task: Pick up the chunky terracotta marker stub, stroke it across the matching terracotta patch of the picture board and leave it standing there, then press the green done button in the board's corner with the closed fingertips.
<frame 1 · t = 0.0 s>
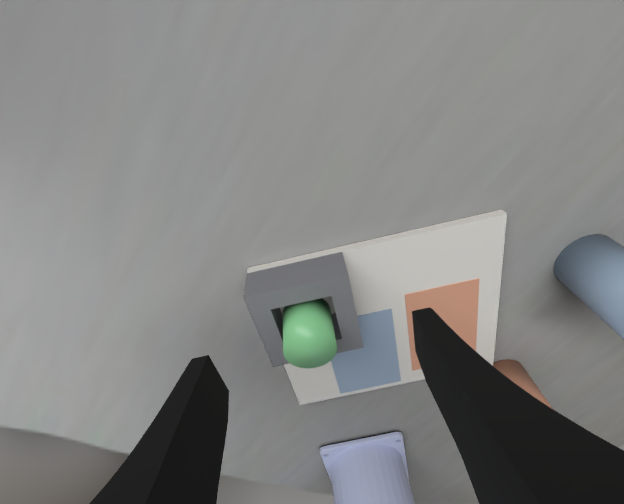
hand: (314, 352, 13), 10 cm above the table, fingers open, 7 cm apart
done button: (308, 330, 21), point 4 cm above the table, slide at 0.0 cm
slate marker: (583, 259, 24), on the table
terracotta marker: (499, 375, 31), on the table
picture board: (384, 319, 26), on the table
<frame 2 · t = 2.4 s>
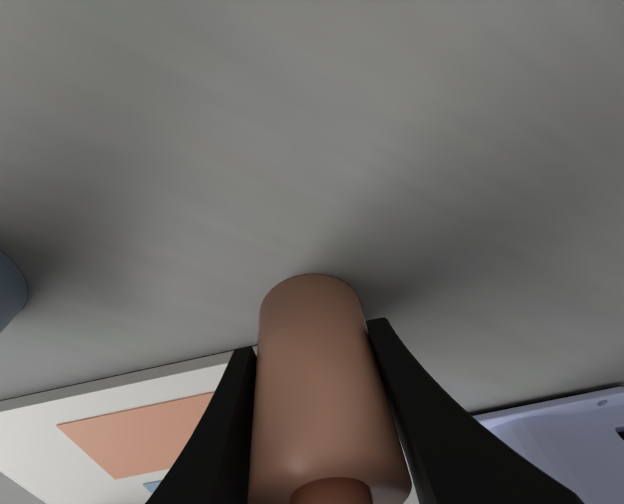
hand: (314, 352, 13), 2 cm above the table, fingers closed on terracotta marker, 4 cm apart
terracotta marker: (310, 314, 14), on the table, touching gripper
picture board: (177, 470, 20), on the table
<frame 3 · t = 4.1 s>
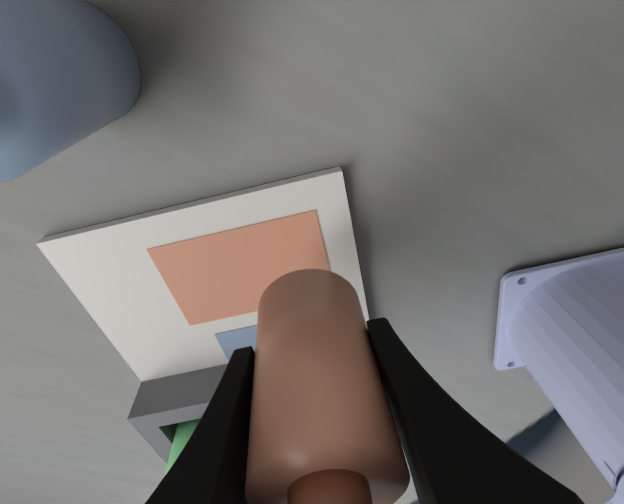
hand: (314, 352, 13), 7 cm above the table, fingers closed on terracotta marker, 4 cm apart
done button: (199, 446, 20), point 3 cm above the table, slide at 0.0 cm
slate marker: (82, 64, 13), on the table
terracotta marker: (309, 310, 14), point 5 cm above the table, touching gripper
picture board: (244, 326, 20), on the table
when the fingers open (3 cm above the table, at t = 5.9 s): terracotta marker stays where it is, resting on picture board.
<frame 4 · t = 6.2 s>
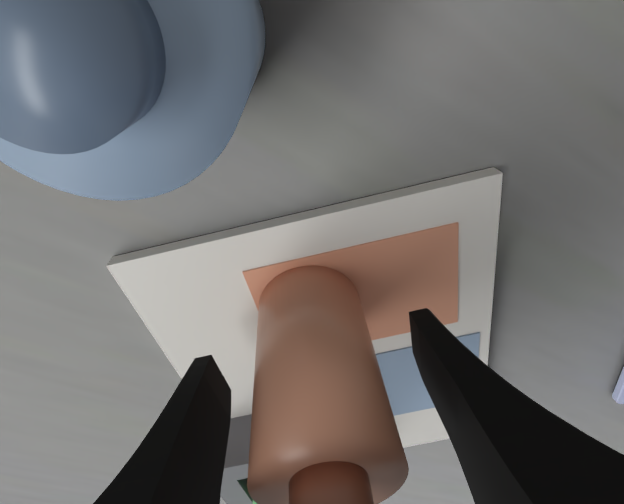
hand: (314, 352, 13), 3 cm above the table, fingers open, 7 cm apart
done button: (284, 501, 17), point 3 cm above the table, slide at 0.0 cm
slate marker: (190, 31, 10), on the table
terracotta marker: (309, 306, 14), point 1 cm above the table, touching picture board
picture board: (337, 358, 17), on the table
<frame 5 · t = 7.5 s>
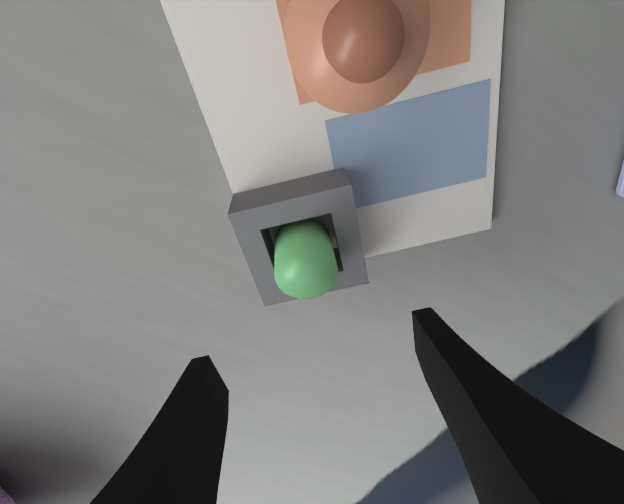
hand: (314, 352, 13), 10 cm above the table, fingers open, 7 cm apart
done button: (304, 256, 18), point 3 cm above the table, slide at 0.0 cm
terracotta marker: (330, 28, 15), point 1 cm above the table, touching picture board
picture board: (354, 120, 18), on the table
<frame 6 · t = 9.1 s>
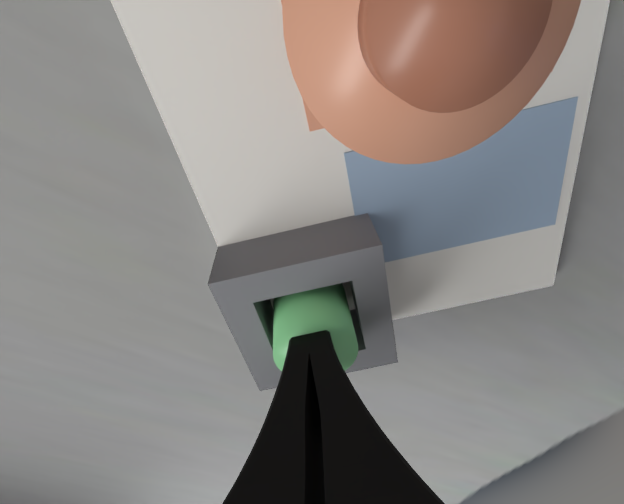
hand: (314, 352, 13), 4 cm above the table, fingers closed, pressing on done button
done button: (312, 322, 14), point 3 cm above the table, slide at 0.7 cm, touching gripper
terracotta marker: (357, 22, 10), point 1 cm above the table, touching picture board
picture board: (383, 151, 13), on the table
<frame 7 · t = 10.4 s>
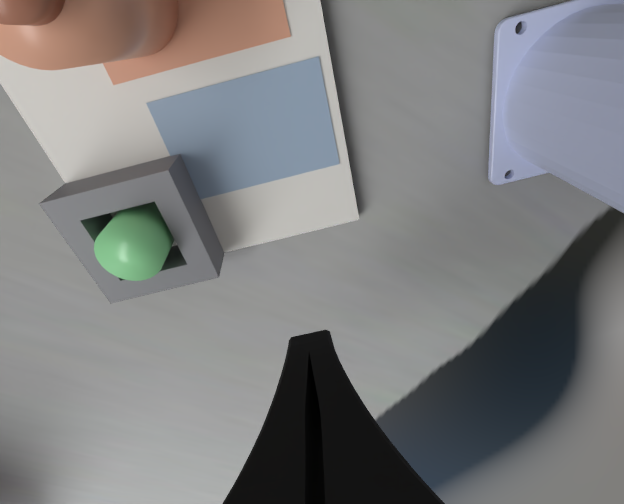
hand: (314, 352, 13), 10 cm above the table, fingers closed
done button: (139, 238, 18), point 2 cm above the table, slide at 1.0 cm
picture board: (185, 103, 17), on the table
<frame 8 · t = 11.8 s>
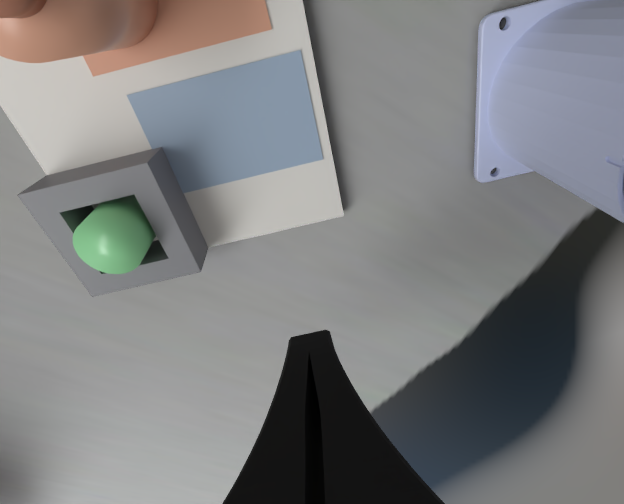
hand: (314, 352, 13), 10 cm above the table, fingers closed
done button: (120, 231, 18), point 2 cm above the table, slide at 1.0 cm
picture board: (167, 96, 17), on the table
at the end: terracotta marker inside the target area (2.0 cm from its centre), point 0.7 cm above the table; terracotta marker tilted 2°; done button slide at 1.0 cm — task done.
